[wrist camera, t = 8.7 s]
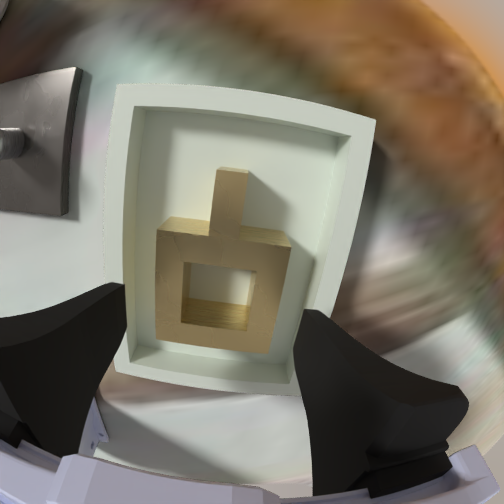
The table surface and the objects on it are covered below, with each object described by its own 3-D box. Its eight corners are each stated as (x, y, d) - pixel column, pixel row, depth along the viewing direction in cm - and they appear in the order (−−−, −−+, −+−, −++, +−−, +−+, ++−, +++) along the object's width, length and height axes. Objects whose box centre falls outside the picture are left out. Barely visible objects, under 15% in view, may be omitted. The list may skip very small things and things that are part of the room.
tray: (296, 371, 17) (301, 395, 15) (126, 349, 17) (115, 371, 14) (357, 123, 12) (375, 120, 10) (134, 92, 12) (117, 84, 10)
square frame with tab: (265, 326, 15) (268, 353, 13) (166, 313, 15) (155, 339, 13) (293, 176, 13) (303, 182, 11) (176, 161, 12) (161, 163, 10)
